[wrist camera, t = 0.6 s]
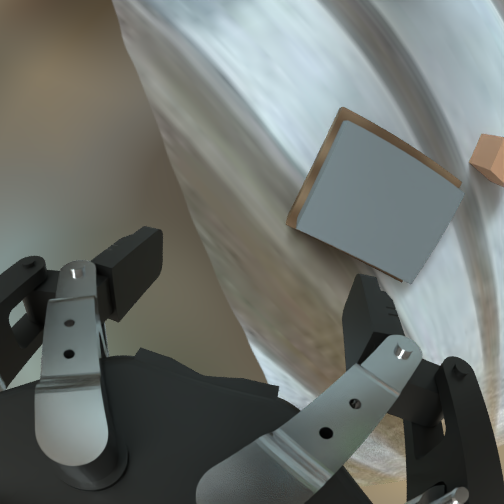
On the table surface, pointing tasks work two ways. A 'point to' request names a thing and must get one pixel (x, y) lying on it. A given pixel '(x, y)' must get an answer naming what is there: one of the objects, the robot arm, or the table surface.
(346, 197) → the slate top slab
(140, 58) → the table surface
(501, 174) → the terracotta block
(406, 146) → the walnut slab
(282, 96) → the table surface
